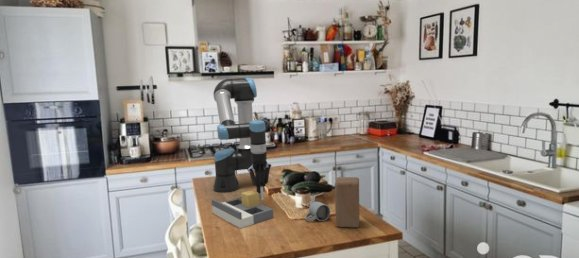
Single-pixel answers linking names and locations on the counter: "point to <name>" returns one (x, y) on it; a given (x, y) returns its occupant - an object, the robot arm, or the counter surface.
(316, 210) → the ceramic mug
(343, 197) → the wooden block
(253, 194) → the ochre cube
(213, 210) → the tray
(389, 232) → the counter surface
